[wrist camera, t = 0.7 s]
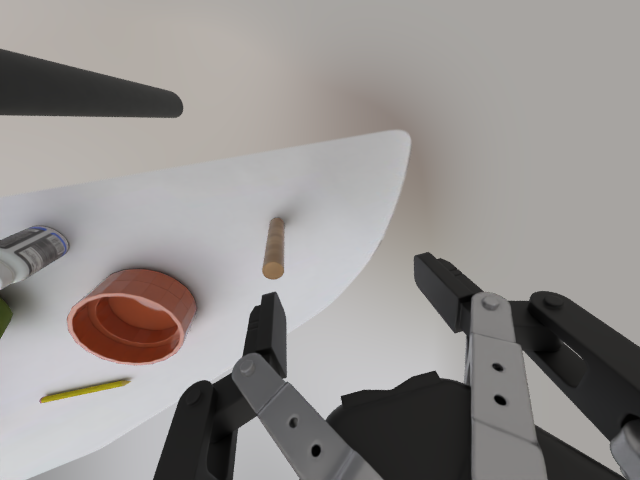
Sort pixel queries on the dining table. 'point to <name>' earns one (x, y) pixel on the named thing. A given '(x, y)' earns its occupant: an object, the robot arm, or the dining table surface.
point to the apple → (4, 316)
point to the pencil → (83, 391)
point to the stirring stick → (274, 250)
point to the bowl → (133, 317)
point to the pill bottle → (29, 253)
